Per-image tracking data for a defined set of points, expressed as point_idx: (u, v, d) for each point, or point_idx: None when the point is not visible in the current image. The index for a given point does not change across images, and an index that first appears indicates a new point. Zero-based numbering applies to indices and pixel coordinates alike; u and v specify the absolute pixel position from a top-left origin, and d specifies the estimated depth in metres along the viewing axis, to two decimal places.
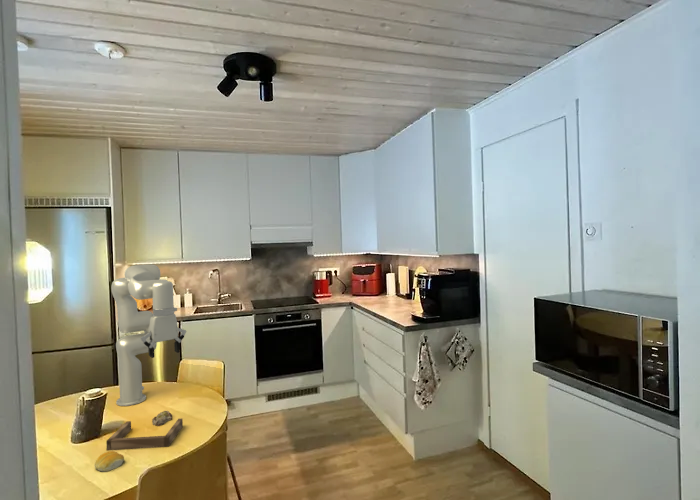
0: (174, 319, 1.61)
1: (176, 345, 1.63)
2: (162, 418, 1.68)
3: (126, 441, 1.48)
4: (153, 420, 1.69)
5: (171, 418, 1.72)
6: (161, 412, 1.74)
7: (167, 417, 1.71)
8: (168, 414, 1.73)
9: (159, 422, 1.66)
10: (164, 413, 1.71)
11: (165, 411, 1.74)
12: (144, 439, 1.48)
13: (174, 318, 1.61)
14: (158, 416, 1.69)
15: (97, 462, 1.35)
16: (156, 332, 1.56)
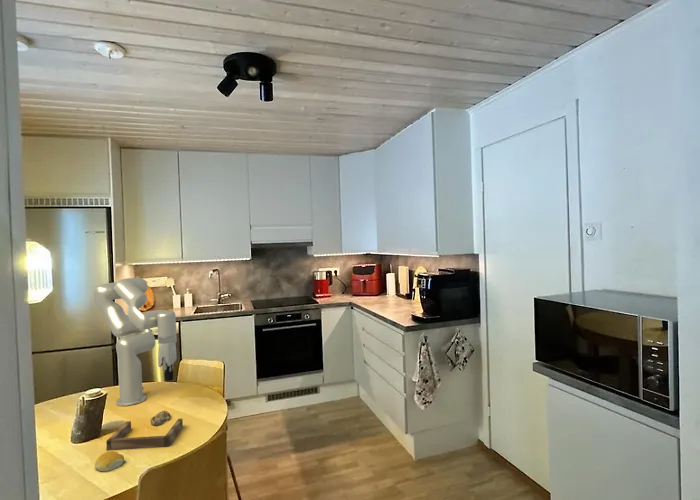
0: (175, 344, 1.82)
1: None
2: (160, 418, 1.68)
3: (126, 441, 1.48)
4: (151, 420, 1.69)
5: (169, 418, 1.72)
6: (160, 412, 1.74)
7: (165, 417, 1.71)
8: (167, 414, 1.73)
9: (157, 422, 1.66)
10: (163, 413, 1.71)
11: (164, 411, 1.74)
12: (144, 439, 1.48)
13: None
14: (156, 416, 1.69)
15: (97, 462, 1.35)
16: (170, 357, 1.75)
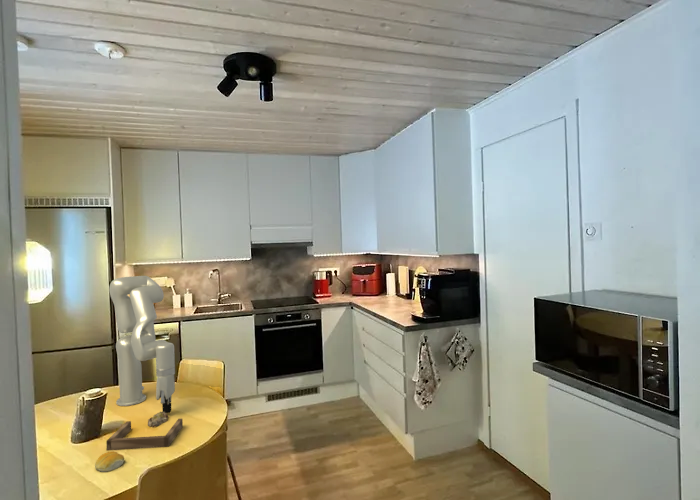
0: (173, 375, 1.80)
1: None
2: (157, 419, 1.67)
3: (126, 441, 1.48)
4: (148, 421, 1.68)
5: None
6: (157, 413, 1.73)
7: (163, 418, 1.70)
8: (164, 415, 1.72)
9: (154, 423, 1.65)
10: (160, 414, 1.70)
11: (161, 412, 1.73)
12: (144, 439, 1.48)
13: (173, 374, 1.80)
14: (153, 417, 1.68)
15: (97, 462, 1.35)
16: (168, 390, 1.73)
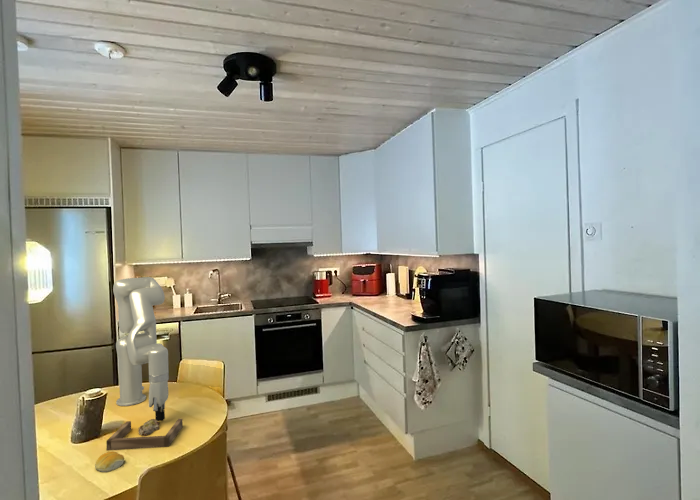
0: (167, 381, 1.72)
1: None
2: (149, 427, 1.60)
3: (126, 441, 1.48)
4: (139, 429, 1.60)
5: (158, 427, 1.63)
6: None
7: (154, 426, 1.63)
8: (155, 423, 1.65)
9: (146, 431, 1.58)
10: (151, 422, 1.63)
11: (152, 419, 1.66)
12: (144, 439, 1.48)
13: (167, 380, 1.72)
14: (145, 425, 1.61)
15: (97, 462, 1.35)
16: (161, 397, 1.65)
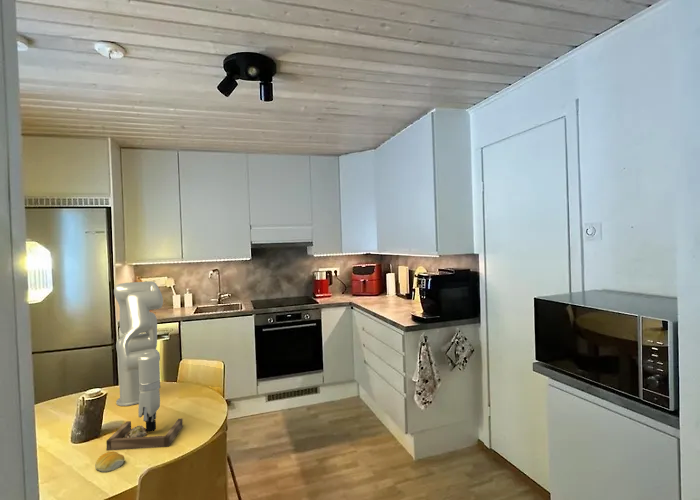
0: (158, 389, 1.63)
1: None
2: (137, 434, 1.55)
3: (126, 441, 1.48)
4: (126, 437, 1.55)
5: (146, 433, 1.58)
6: (134, 427, 1.60)
7: (142, 432, 1.58)
8: (143, 429, 1.59)
9: None
10: (139, 428, 1.58)
11: (139, 426, 1.60)
12: (144, 439, 1.48)
13: (158, 388, 1.63)
14: (132, 432, 1.55)
15: (98, 462, 1.35)
16: (152, 406, 1.56)
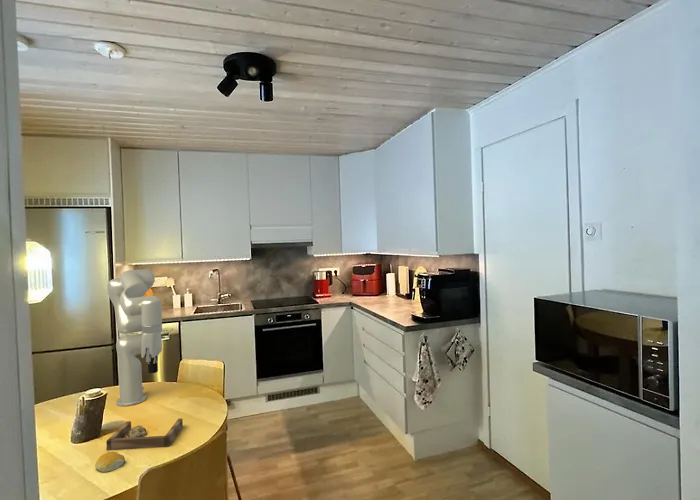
0: (160, 334, 1.69)
1: None
2: (136, 434, 1.55)
3: (126, 441, 1.48)
4: (126, 437, 1.55)
5: None
6: (134, 427, 1.60)
7: (141, 432, 1.58)
8: (142, 429, 1.59)
9: None
10: (138, 428, 1.58)
11: (138, 426, 1.60)
12: (144, 439, 1.48)
13: (160, 333, 1.69)
14: (132, 432, 1.55)
15: (98, 463, 1.35)
16: (154, 347, 1.62)
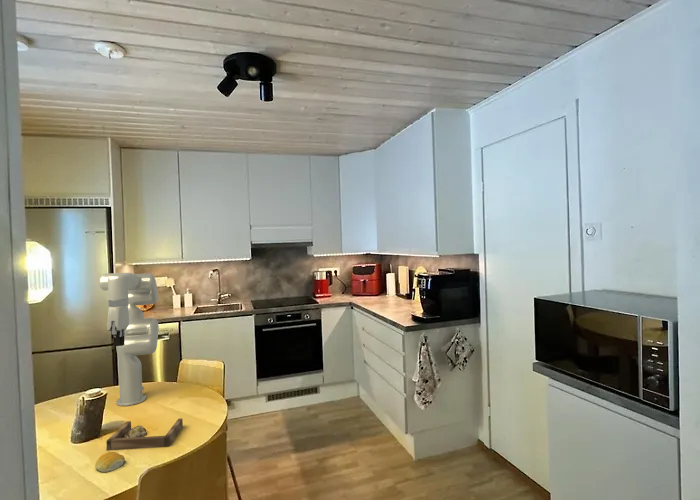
0: (127, 309, 1.76)
1: None
2: (136, 434, 1.55)
3: (126, 441, 1.48)
4: (126, 437, 1.55)
5: None
6: (134, 427, 1.60)
7: (141, 432, 1.58)
8: (142, 429, 1.59)
9: None
10: (138, 428, 1.58)
11: (138, 426, 1.60)
12: (144, 439, 1.48)
13: (127, 308, 1.76)
14: (132, 432, 1.55)
15: (98, 463, 1.35)
16: (120, 321, 1.69)
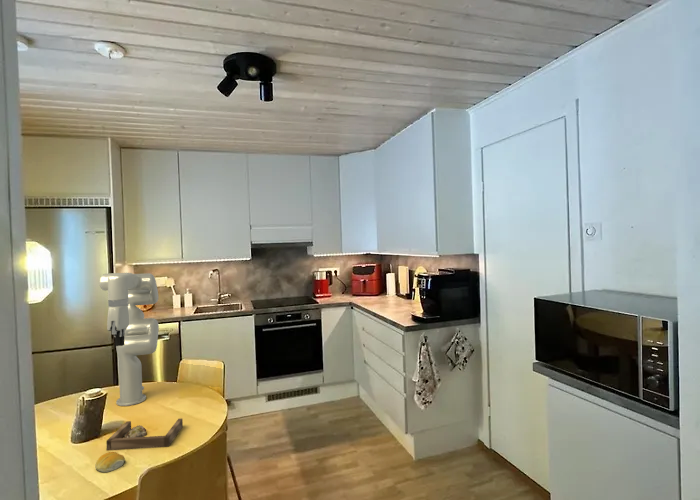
0: (127, 309, 1.76)
1: None
2: (136, 434, 1.55)
3: (126, 441, 1.48)
4: (126, 437, 1.55)
5: None
6: (134, 427, 1.60)
7: (141, 432, 1.58)
8: (142, 429, 1.59)
9: None
10: (138, 428, 1.58)
11: (138, 426, 1.60)
12: (144, 439, 1.48)
13: (127, 308, 1.76)
14: (132, 432, 1.55)
15: (98, 463, 1.35)
16: (120, 321, 1.69)
